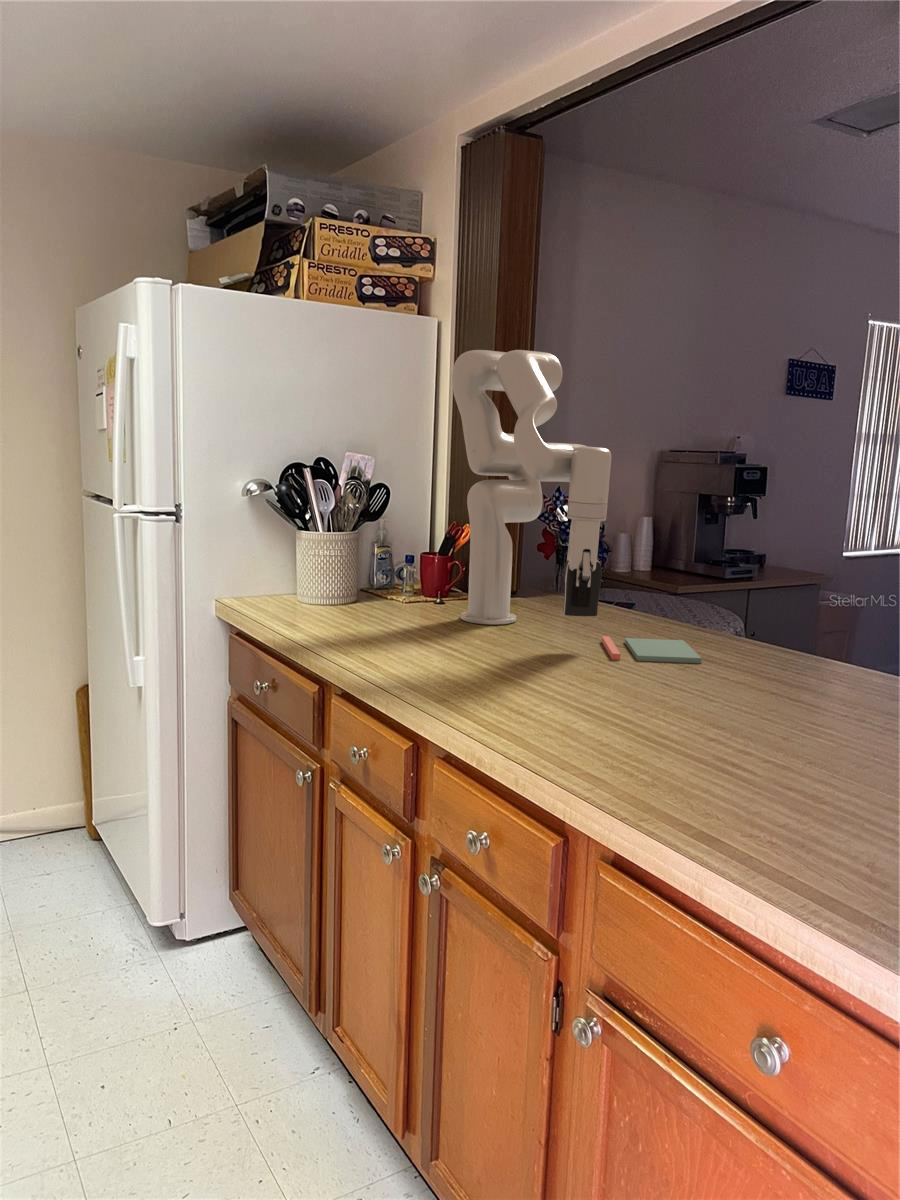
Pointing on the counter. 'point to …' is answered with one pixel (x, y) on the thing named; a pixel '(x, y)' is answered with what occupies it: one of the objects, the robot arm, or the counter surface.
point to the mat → (662, 650)
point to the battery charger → (569, 589)
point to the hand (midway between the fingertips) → (579, 603)
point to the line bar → (610, 648)
